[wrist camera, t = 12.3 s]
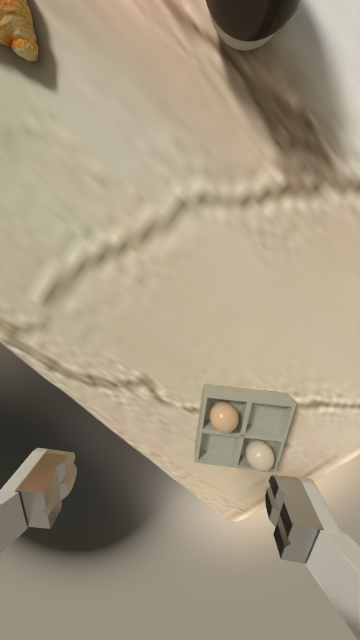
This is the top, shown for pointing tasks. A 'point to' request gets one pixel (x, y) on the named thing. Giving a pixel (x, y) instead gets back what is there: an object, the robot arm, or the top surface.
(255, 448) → the pale egg
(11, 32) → the croissant
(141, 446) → the top surface
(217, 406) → the brown egg
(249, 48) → the pump dispenser
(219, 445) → the carton
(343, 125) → the top surface
